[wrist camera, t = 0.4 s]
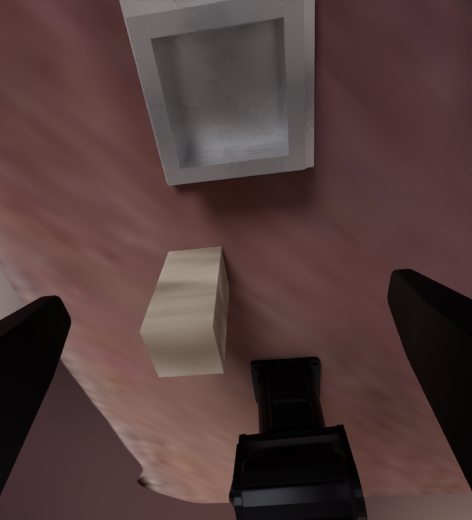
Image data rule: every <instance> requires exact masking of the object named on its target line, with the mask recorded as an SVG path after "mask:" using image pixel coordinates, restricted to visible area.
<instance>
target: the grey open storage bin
mask: <svg viewBox="0 0 472 520" xmlns="http://www.w3.org/2000/svg"><path fill="white" fill-rule="evenodd" d="M119 1H120V5H121V9H122V12H123V16H124V20H125V24H126V28H127V32H128V36H129V39H130V43H131V47H132V51H133V55H134V59H135V62H136V66H137V70H138V74H139V78H140V82H141V86H142V89H143V93H144V97H145V101H146V105H147V109H148V113H149V116H150V120H151V124H152V128H153V132H154V136H155V140H156V143H157V147H158V151H159V155H160V159H161V163H162V167H163V170H164V174H165V178H166V182H167V184H168V185H169V186H170V185H179V184H187V183H195V182H204V181H212V180H221V179H229V178H237V177H246V176H254V175H263V174H271V173H279V172H288V171H296V170H305V169H306V168H307V167H314V48H315V0H119Z"/></svg>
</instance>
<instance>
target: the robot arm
mask: <svg viewBox="0 0 472 520" xmlns="http://www.w3.org/2000/svg"><path fill="white" fill-rule="evenodd" d="M387 299H388V304H389V307H390V310H391V313H392V316H393V319H394V322H395V325H396V328H397V331H398V333H399V336H400V339H401V342H402V345H403V348H404V350H405V353H406V356H407V358H408V360H409V362H410V365H411V367H412V369H413V371H414V373H415V375H416V377H417V379H418V381H419V383H420V385H421V387H422V389H423V391H424V393H425V395H426V397H427V400H428V402H429V404H430V406H431V408H432V410H433V412H434V414H435V416H436V418H437V420H438V422H439V424H440V426H441V428H442V430H443V432H444V435H445V437H446V439H447V441H448V443H449V445H450V447H451V449H452V451H453V453H454V455H455V457H456V459H457V461H458V463H459V465H460V467H461V470H462V472H463V474H464V476H465V478H466V480H467V482H468V484H469V486H470V488H471V490H472V299H470V298H468V297H466V296H464V295H462V294H460V293H458V292H456V291H454V290H452V289H450V288H448V287H446V286H444V285H442V284H440V283H438V282H436V281H434V280H432V279H430V278H428V277H426V276H424V275H422V274H420V273H418V272H416V271H414V270H412V269H398V270H394V271H393V272H392V274H391V278H390V284H389V290H388V296H387ZM70 326H71V318H70V315H69V313H68V311H67V309H66V307H65V306H64V304H63V302H62V300H61V298H60V297H58V296H56V295H54V296H43V297H40V298H38V299H37V300H35V301H33V302H31V303H30V304H28V305H26V306H24V307H23V308H21V309H19V310H17V311H16V312H14V313H12V314H10V315H9V316H7V317H5V318H3V319H1V320H0V495H1V493H2V491H3V488H4V486H5V484H6V482H7V479H8V477H9V475H10V473H11V470H12V468H13V466H14V464H15V462H16V459H17V457H18V455H19V453H20V450H21V448H22V446H23V444H24V441H25V439H26V437H27V435H28V433H29V430H30V428H31V425H32V424H33V422H34V419H35V417H36V415H37V413H38V410H39V408H40V406H41V404H42V401H43V399H44V397H45V395H46V392H47V390H48V388H49V386H50V384H51V381H52V379H53V377H54V374H55V371H56V369H57V366H58V362H59V360H60V357H61V354H62V351H63V348H64V345H65V342H66V339H67V336H68V333H69V330H70ZM251 374H252V380H253V386H254V392H255V398H256V403H257V404H258V413H259V434H251V435H246V434H240V435H239V443H238V444H237V449H236V457H235V466H234V474H233V481H232V485H231V489H230V492H229V502H230V503H231V504H232V506H233V507H234V509H235V513H236V519H237V520H367V512H366V506H365V501H364V496H363V492H362V488H361V484H360V480H359V476H358V472H357V469H356V465H355V462H354V459H353V455H352V452H351V449H350V445H349V442H348V439H347V435H346V432H345V429H344V425H343V424H341V425H337V426H333V427H325V422H324V417H323V413H322V408H321V403H320V360H319V358H317V357H306V358H291V359H276V360H261V361H253V362H251Z"/></svg>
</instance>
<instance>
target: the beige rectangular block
mask: <svg viewBox="0 0 472 520" xmlns="http://www.w3.org/2000/svg"><path fill="white" fill-rule="evenodd" d="M228 299H229V285H228V279H227V274H226V268H225V263H224V257H223V252H222V246H221V247H211V248H201V249H191V250H181V251H171V252H168V255H167V258H166V260H165V263H164V266H163V269H162V271H161V274H160V277H159V279H158V282H157V285H156V288H155V290H154V293H153V296H152V299H151V301H150V304H149V307H148V310H147V312H146V315H145V318H144V321H143V323H142V326H141V329H140V334H141V336H142V338H143V341H144V343H145V345H146V348H147V350H148V353H149V355H150V357H151V360H152V362H153V364H154V367H155V369H156V372H157V374H158V376H159V377H173V376H189V375H204V374H220V373H224V362H225V347H226V331H227V315H228Z"/></svg>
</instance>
